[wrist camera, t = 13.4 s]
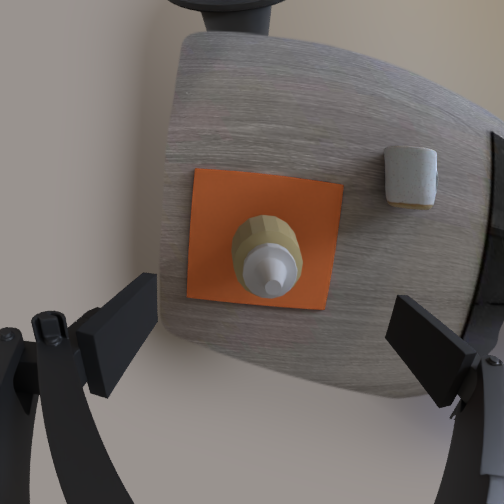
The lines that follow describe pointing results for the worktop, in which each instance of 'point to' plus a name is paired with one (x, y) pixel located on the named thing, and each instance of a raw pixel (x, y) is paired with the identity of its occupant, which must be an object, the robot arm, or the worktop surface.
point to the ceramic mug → (410, 177)
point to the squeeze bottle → (266, 256)
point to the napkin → (251, 205)
